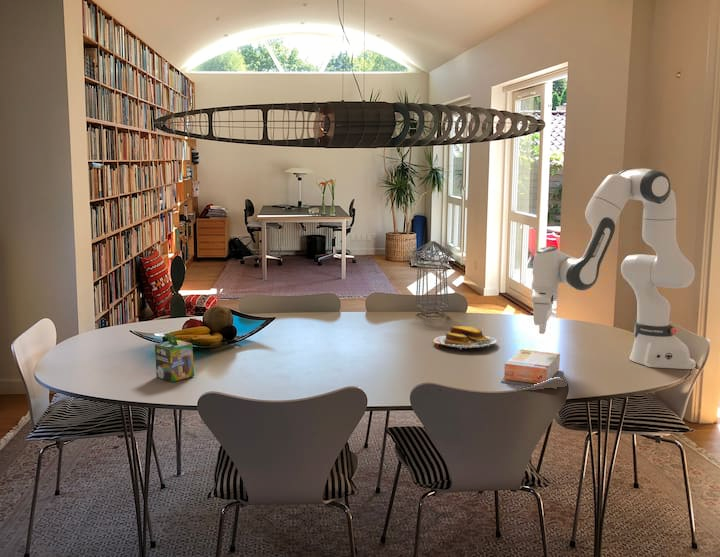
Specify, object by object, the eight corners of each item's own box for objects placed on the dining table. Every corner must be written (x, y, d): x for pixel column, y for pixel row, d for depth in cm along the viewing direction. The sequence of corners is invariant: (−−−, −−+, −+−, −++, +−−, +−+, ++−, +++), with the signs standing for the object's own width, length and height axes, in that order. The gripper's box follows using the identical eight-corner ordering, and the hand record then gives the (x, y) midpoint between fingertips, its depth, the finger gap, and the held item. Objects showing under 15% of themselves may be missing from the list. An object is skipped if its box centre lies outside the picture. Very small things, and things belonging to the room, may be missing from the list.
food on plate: (431, 352, 277) (432, 335, 276) (433, 337, 301) (433, 321, 300) (499, 355, 274) (500, 338, 273) (495, 339, 298) (496, 323, 297)
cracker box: (520, 365, 259) (503, 379, 241) (520, 348, 258) (503, 362, 240) (559, 370, 253) (545, 385, 234) (560, 353, 252) (546, 367, 233)
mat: (563, 372, 252) (563, 371, 251) (557, 389, 233) (557, 387, 233) (511, 366, 258) (511, 365, 258) (501, 382, 240) (501, 381, 239)
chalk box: (194, 377, 242) (193, 333, 240) (171, 383, 235) (169, 338, 233) (178, 371, 248) (177, 329, 246) (155, 377, 242) (153, 334, 239)
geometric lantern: (422, 318, 333) (422, 243, 328) (410, 312, 348) (410, 240, 343) (454, 316, 337) (454, 241, 332) (441, 310, 352) (442, 239, 347)
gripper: (539, 288, 262) (537, 325, 264) (531, 298, 243) (528, 338, 245) (557, 289, 259) (554, 327, 262) (550, 299, 240) (548, 340, 243)
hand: (542, 332), depth 253 cm, fingers closed
